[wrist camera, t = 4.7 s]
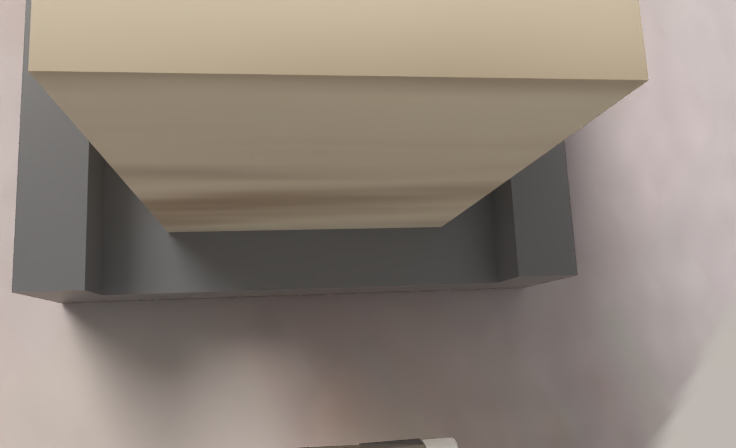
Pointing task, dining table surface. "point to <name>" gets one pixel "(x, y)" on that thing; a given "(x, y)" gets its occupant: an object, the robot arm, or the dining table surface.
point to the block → (329, 100)
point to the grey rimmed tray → (258, 234)
